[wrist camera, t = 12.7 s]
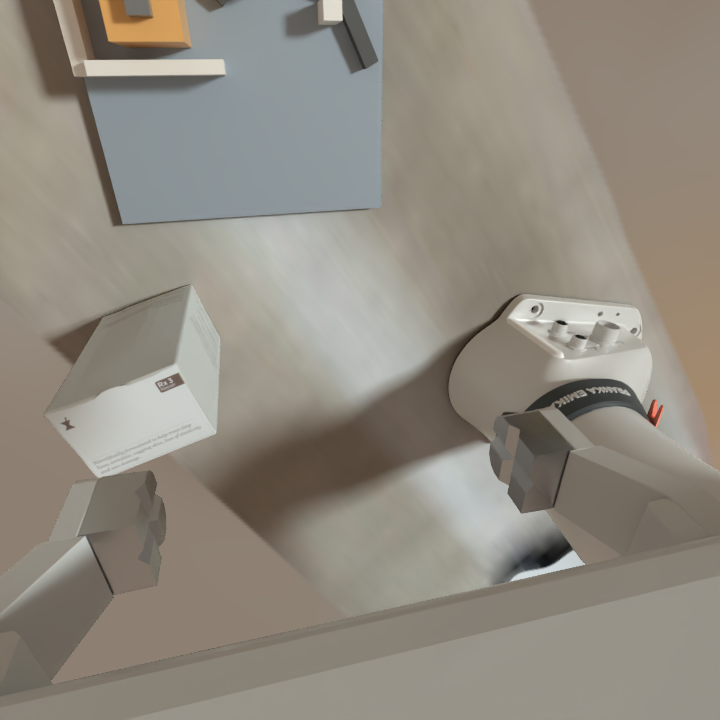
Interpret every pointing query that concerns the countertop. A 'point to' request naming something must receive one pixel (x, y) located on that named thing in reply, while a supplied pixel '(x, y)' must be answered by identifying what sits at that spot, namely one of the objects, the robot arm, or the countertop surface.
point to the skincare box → (141, 384)
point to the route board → (238, 108)
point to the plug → (146, 23)
